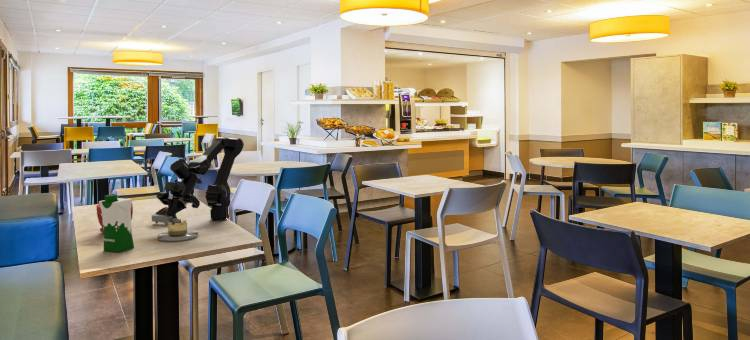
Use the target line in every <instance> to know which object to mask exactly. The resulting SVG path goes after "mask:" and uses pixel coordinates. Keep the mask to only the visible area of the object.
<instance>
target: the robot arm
mask: <svg viewBox="0 0 750 340" xmlns="http://www.w3.org/2000/svg"><path fill="white" fill-rule="evenodd" d="M243 149H244V140H243V139H241V138H240V137H239V138H238V137H237V138H236V137H235V138H234V137H229V138H228V137H224V136H223V137H222V136H218V137H216V138H215V140H214V141H213V143H212V144H210V146H209V147H208V148H206V150H205V151H204V152H203V153H202V154H201V155H200V156H198V157H196V158H194V159H192V160H191V161H190V162H189V163H188V162H187V161H186V160H185V159H184V158H182V157H181V158H178V160H176V161H174V162H173V163H171V164H170V166H169V170H170V171H171V172H172V173H173V174H174V175H175V176H176V177H177V178H178V179H179V180H181V181H177V182H173V181H165V185H164V189H163V190H164V191H168V192H169V193H168V192H163V191H161V192H158V193H157V194H156V196H155V197H156V199H158V200H159V201H160V202H161V203H162V205H165V206H167V207H168V210H167V215H166V216H173V215H175V214H176V215H177V214H178V213H179V212H182V210H184V209H185V210H186V209H187V205H189V204H191V208H192V209H198V208H199V207H200V205H201V202H200V200H199V199H198V198H197V197H196V196H195V195H194V194H195V192H194V191H193V190H194V189H195V187H196V185H198V184H199V185H201V184H203V183H202V180H201V179H202V178H201V177H200V175H201V176H204V175H206V174H207V173H208V171H209V170H210V168H211V164H212V162H213V161H214V159H215V158H216V157H218V155H219V154H220V153H221V152H222V150H223V158H222V161H221V163H220V167H219V168H218V172H217V175H216V177H215V180H214V182H213V183H212V184H208V185H207V188H206V189H207V190H205V192H204V194H205V200H206V204H207V206H209V207H211V208H210V210H209V211H210V219H211V221H212V222H214V221H215V222H216V221H218V220H219V221H227V220H228V215H227V207H228V208H229V206H231V200H230V199H229V197H227V188H226V185H227V183H228V179H229V177H230V174H231V171H232V168H233V166H234V162H235V159H236V158H237V157H238V156H239V155H240V154H241V152H242V151H243ZM197 175H199V176H197ZM226 218H227V219H226ZM225 219H226V220H225Z"/></svg>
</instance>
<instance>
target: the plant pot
mask: <svg viewBox="0 0 750 340" xmlns="http://www.w3.org/2000/svg"><path fill="white" fill-rule="evenodd" d="M133 212H134V208H133V203H132V204H131V221H132V220H133ZM96 216H97V220H98V223H99V225H100V228H99V230H100V232H101V233H102V234H103V219H102V211H101V208H100V204H99V203H98V204H97V205H96ZM132 227H133V226H132V225H131V228H132Z"/></svg>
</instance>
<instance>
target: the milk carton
mask: <svg viewBox="0 0 750 340" xmlns="http://www.w3.org/2000/svg"><path fill="white" fill-rule="evenodd" d="M98 204H100V208H101V211H102V214H101V215H102V219H103V233H102V234H103V252H110V253H117V254H118V253H119V254H120V253H123V252H125V251H128V250H131V249H134V248H135V245H134V240H133V231H132V228H131V226H132V220H131V204H132V205H133V198H123V197H120V198H119V197H118V194H114V193H113V194H111V193H110V194H106V195H104V200H99V201H98Z"/></svg>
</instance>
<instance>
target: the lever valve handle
mask: <svg viewBox="0 0 750 340" xmlns="http://www.w3.org/2000/svg"><path fill="white" fill-rule="evenodd" d="M154 214H155V213H154ZM154 214H152V215H151V221H152V222H154V221H155V222H154V223H156V222H158V223H164V225H165V226H167V232H168V235H173V236H176V235H184V234H187V230H188V222H187V220H186V219H185V220H182V221H181V223H180V222H178V223H175V224H174V222H173V220H176V218H172V216H165V215H156V214H155V215H154Z"/></svg>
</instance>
